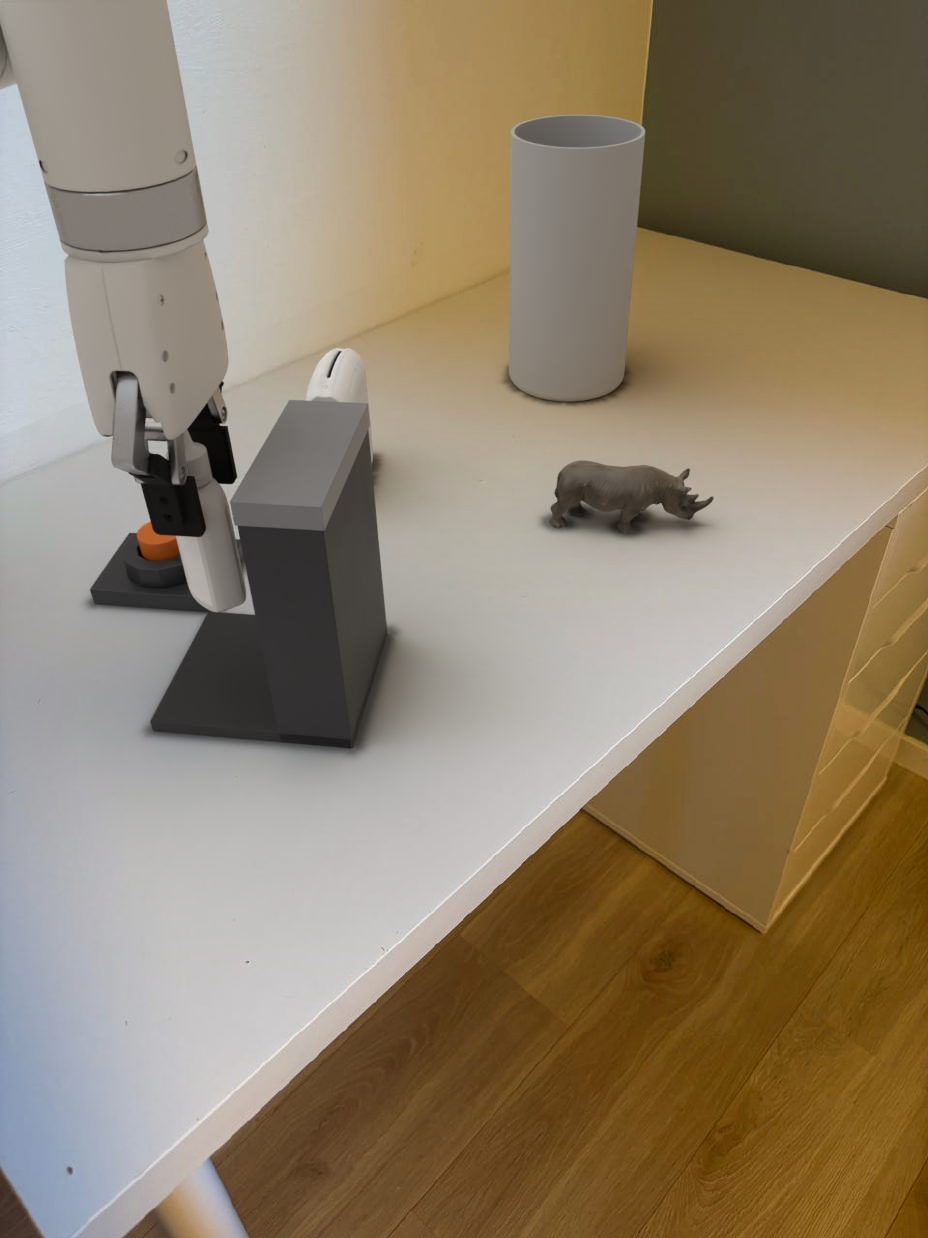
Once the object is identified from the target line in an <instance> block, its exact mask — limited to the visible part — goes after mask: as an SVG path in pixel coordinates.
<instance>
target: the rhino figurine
mask: <svg viewBox="0 0 928 1238" xmlns="http://www.w3.org/2000/svg"><path fill="white" fill-rule="evenodd" d="M690 472H691V469H690V467H688V468H686V469H684V470H683V471H682V472H681V473H680V474H679V475H678V476H674V475H673V474H670V473H669V472H667V471H665V470H662V469H661V468H658V467H655V466H652V465H647V464H639V465H628V466H619V465H618V466H617V465H610V464H609V465H608V464H603V463H600V462H596V461H592V460H583V459H581V460H575V461H573V462H570V463H568V464H567V465H565V466H564V467H563V468H562V469H561V470H560V471H559V472H558V473H557V477H556V487H555V489H554V492H553V493H554V496H555V498H556V502H554V503H553V504H551V505H550V508H549V510H550V511H551V518H549V520H548V524H549V525H550V526H551V527H553V528H554V529H561V528H566V527H568V524H567V520H566V519H565V517H564V516H563V515H564V514H565V513H566V512H567V514H568V515H570V516H575V517H576V516H577V517H582V516H585V515H586V513H587V512H588V511H587V509H586V508H585V507H583V506H582V503H581V502H583V503H585V504H586V505H588V506H589V507H591V508H593V509H594V510H596V511H598V512H602V513H611V512H615V511H621V513H620V515H619V521H618V523H616V528H617V530H618V531H619V532H620V533H621V534H623V535H628V534H633V533H634V532H635V528H633V525H632V524H631V521H635V522H636V521H640V520H642V519H643V518H642V517H643V514H642V512H644V511H645V510H647V509H648V508H649V507H651V506H652V505H656V506H657V505H660V504H661V505H662V507H663V508H662V509H663V510H664V511H665V512H666V513H667V514H669V515H672V516H675V517H678V518H680V519H683V520H687V521H690V520H692V519H693V518H694V515H695V514H696V513H698V512H700V511H701V510H703V509H705V508H706V507H708V506H709V505H711V503H712V502H713V501H714V499H715V498H714V497H715V496H713V495H712V496H710V497H709V498H707V499H705V500H699V501H698V500H697V499H698V498H699V496H700V494H698V493H696V494H688V493H689V492H691V491H692V487H689V486H686V485H685V480H687V479H688V478H689V476H690ZM696 500H697V501H696Z"/></svg>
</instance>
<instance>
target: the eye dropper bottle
mask: <svg viewBox="0 0 928 1238" xmlns="http://www.w3.org/2000/svg"><path fill="white" fill-rule="evenodd" d="M184 443H185V455H186V466H187V476H195V480H196V485H197V489H198V494H199V498H200V503H201V507H202V512H203V516H204V520H205V525H206V531H205V532H204V534H203V536H201V537H187V536H176V539H177V543H178V547H179V551H180V555H181V559H182V563H183V567H184V571H185V575H186V579H187V583H188V587H189V590H190V592H191V594H192V596H193V597H194V598H195V600H196V601H197V602H198V603H199V604H201V605H202V606H203V607H205V608H206V609H208V610H210V611H212V612H226V611H228V610H231V609H233V608H236V607H239V606H241V605H243V604H245V603H246V600H247V587H246V584H245V578H244V572H243V569H242V564H241V563H242V562H241V563H240V558H239V553H238V548H237V543H236V539H237V538H236V535H235V529H234V525H233V524H234V523H233V518H232V515H231V514H232V513H231V508H230V505H229V501H228V498H227V495H226V492H225V491H224V488H223V486H221V484H219V483H218V482H217V481H216V480H215V479H214V478H213V477H212V473H211V468H210V463H209V459H208V454H207V449H206V447H205V446H204V445H202V444H200V443H197V442H193V441H192V439H191V437H190V435H189V432H188V430H185V431H184ZM165 458H166V459H167V460H169V457H168V450H167V451H166V452H165Z"/></svg>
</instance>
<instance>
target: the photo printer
mask: <svg viewBox="0 0 928 1238" xmlns="http://www.w3.org/2000/svg"><path fill="white" fill-rule="evenodd" d="M305 401H327V402H350V403H368V409H369V410H370V403H369V391H368V383H367V372H366V366H365V362H364V360H363V358H362V357H361V356H360V355H359V353H358V352H356V351H355V350H354V349H353V348H350V347H348V348H340V347H336V348H333V349H331V350H330V351H328V352H327V353H325V354H324V355H323V356H322V358H321V359H320V360H319V362H318V363H317V364H316V366H315V368H314V370H313V373H312V375H311V377H310V380H309V382H308V386H307V390H306V393H305ZM370 413H371V411H369V419H370V420H371V414H370ZM371 423H372V422H371V421H370V426H369V429H368V431H369V441H370V452H371V463H372V464H373V462H374V461H373V460H374V447H373V435H372V434H373V433H372V424H371Z"/></svg>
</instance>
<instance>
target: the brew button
mask: <svg viewBox="0 0 928 1238" xmlns="http://www.w3.org/2000/svg"><path fill="white" fill-rule="evenodd" d="M136 533H137V539H138V542H139V546H140V550H141V553H142V555H143V557H144V558H145V559H147V560H150V561H164V560H168V559H172V558H176V557H177V556H179V555H180V551H179V547H178V543H177V539H176V536H170V535H158V534H156V533H155V532H154V531H153V528H152V525H151V521H149V522H146V523H145V524H143V525H142V526H141V527H139V529H138V530H137V532H136Z"/></svg>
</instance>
